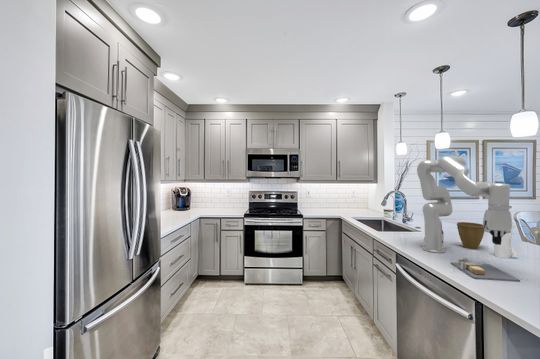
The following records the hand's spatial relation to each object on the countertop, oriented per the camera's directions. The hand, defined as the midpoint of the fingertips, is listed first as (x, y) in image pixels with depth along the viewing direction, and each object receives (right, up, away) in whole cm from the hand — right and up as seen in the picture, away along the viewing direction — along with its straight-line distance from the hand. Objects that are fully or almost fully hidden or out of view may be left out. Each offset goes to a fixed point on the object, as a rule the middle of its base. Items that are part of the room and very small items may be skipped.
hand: (496, 243), depth 118 cm
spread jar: (+9, -14, +59) cm, 61 cm away
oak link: (-10, -14, +3) cm, 17 cm away
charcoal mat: (-6, -15, +1) cm, 16 cm away
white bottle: (+26, -14, +22) cm, 37 cm away
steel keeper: (-11, -15, +2) cm, 18 cm away
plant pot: (+23, -14, +41) cm, 49 cm away
